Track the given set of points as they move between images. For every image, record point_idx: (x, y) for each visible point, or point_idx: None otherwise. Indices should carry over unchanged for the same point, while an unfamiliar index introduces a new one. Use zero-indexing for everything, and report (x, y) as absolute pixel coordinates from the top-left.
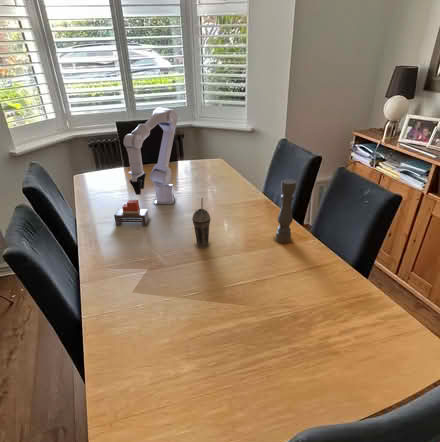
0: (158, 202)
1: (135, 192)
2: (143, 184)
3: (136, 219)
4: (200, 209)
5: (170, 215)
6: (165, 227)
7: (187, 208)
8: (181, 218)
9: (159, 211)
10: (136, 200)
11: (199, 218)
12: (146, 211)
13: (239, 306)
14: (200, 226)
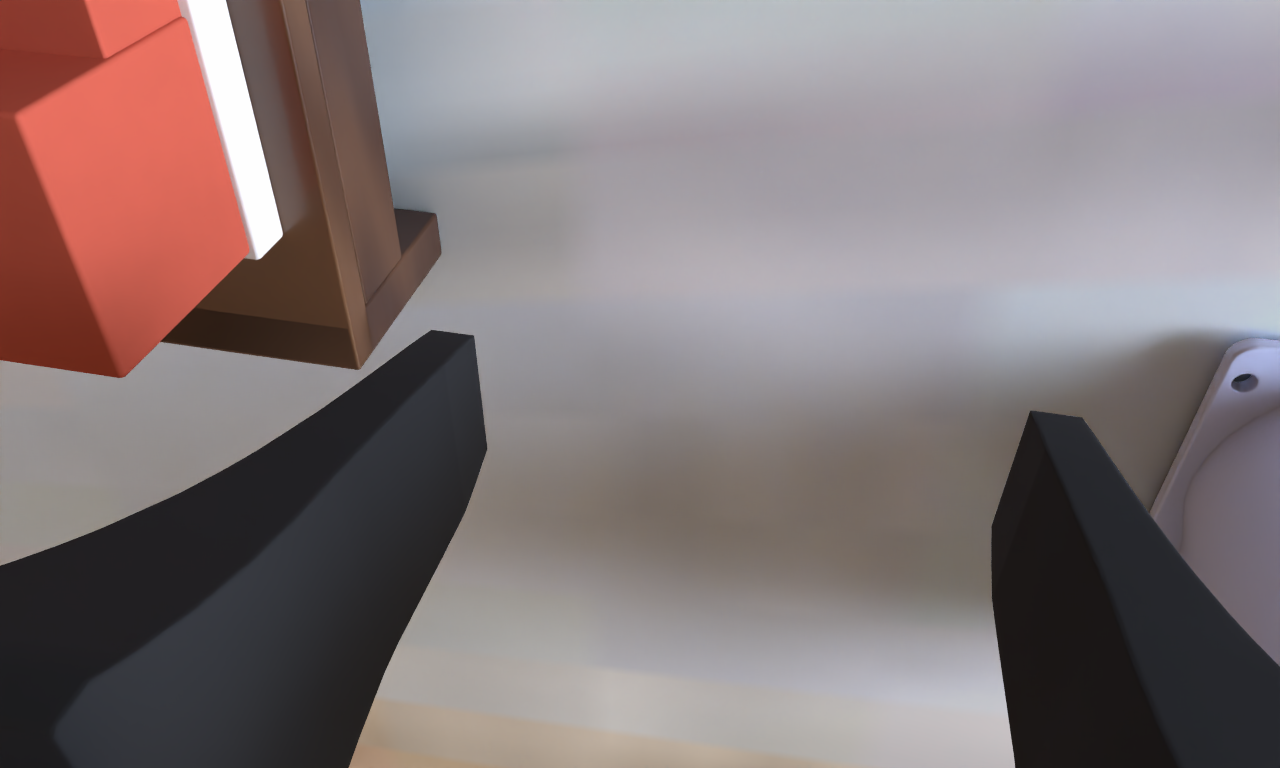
0: (1235, 418)
1: (381, 372)
2: (1007, 671)
3: None
4: None
5: (613, 541)
6: (219, 467)
7: (858, 728)
8: (518, 637)
9: (789, 410)
10: (65, 342)
11: None
12: (256, 354)
13: None
14: None
